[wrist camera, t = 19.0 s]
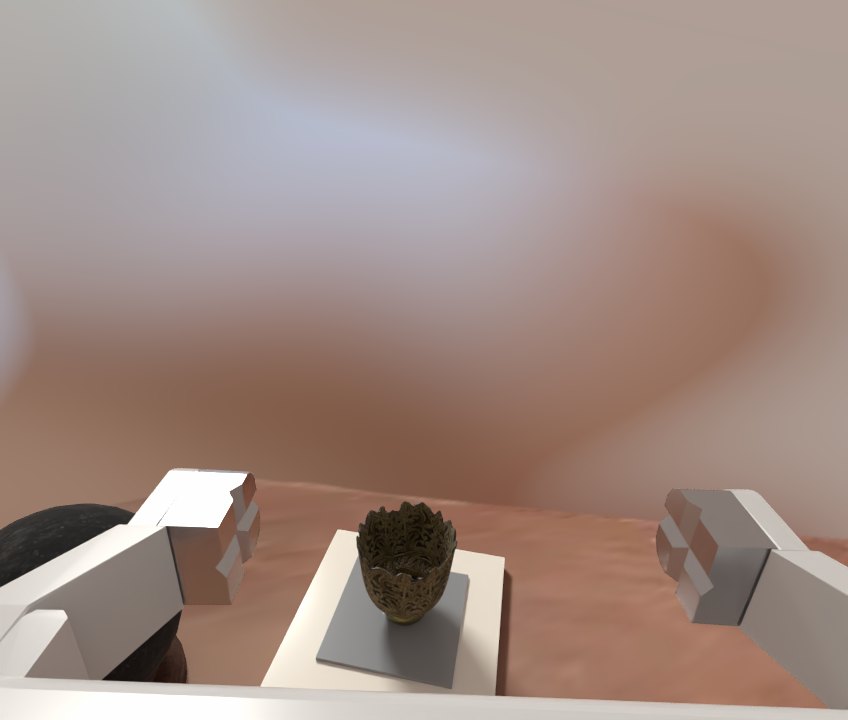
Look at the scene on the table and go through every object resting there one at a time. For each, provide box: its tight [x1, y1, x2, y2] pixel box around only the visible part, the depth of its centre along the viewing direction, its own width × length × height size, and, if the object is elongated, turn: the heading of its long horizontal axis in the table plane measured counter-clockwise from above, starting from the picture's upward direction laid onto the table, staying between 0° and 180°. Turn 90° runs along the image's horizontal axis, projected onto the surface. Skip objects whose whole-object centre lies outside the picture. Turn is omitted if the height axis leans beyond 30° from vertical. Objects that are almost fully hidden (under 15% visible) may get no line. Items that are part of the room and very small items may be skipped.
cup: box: [356, 501, 457, 626], centre depth 39 cm, size 8×7×8 cm
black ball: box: [0, 504, 187, 684], centre depth 33 cm, size 13×13×15 cm
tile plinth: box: [260, 529, 505, 696], centre depth 41 cm, size 16×16×2 cm
